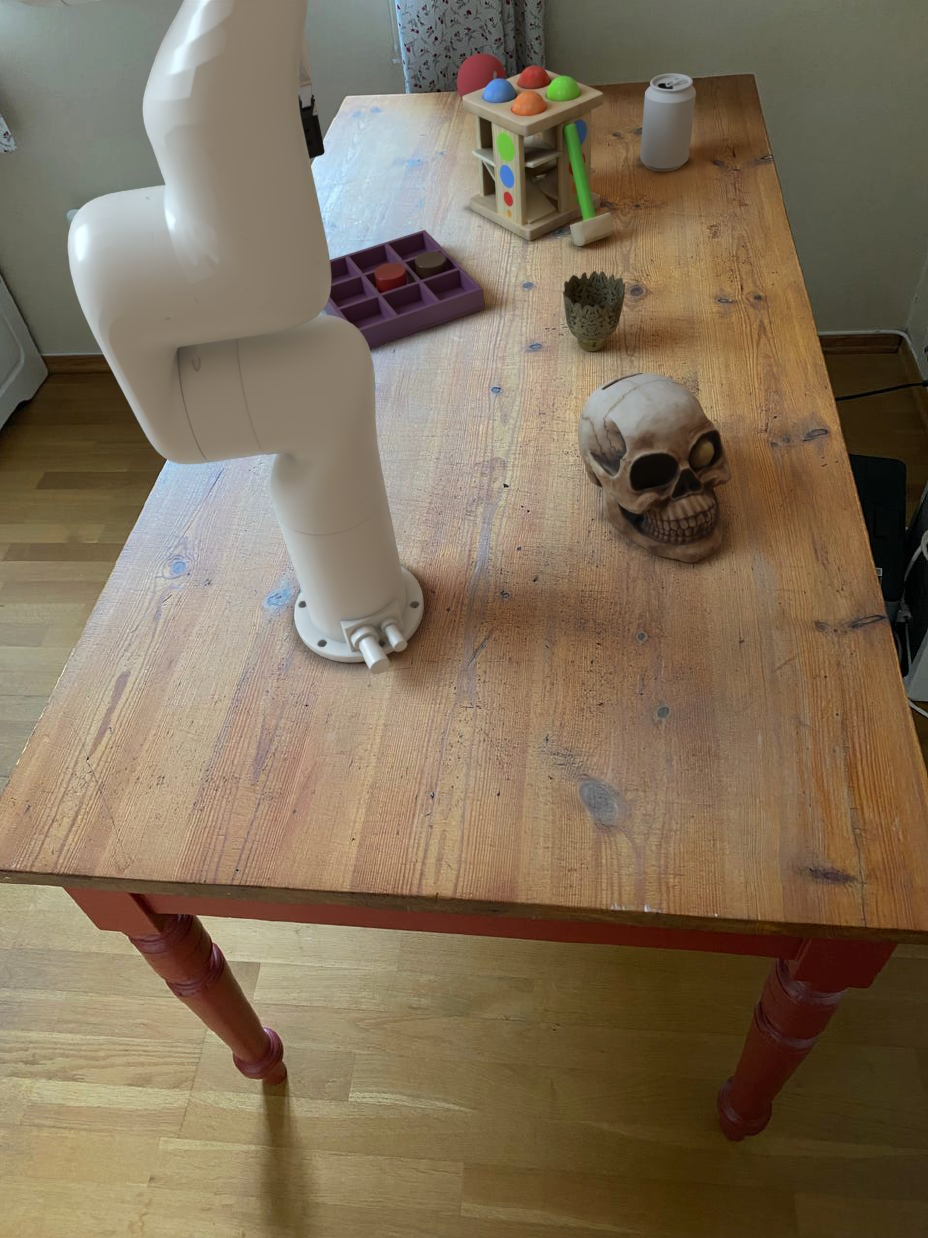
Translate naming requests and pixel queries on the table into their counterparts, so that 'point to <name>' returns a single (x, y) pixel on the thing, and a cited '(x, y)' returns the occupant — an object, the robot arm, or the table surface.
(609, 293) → the cup
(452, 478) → the table surface
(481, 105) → the pounding bench toy
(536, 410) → the table surface
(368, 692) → the table surface
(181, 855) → the table surface
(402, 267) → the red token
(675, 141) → the can
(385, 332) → the board
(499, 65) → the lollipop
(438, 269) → the walnut token
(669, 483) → the coin bank
